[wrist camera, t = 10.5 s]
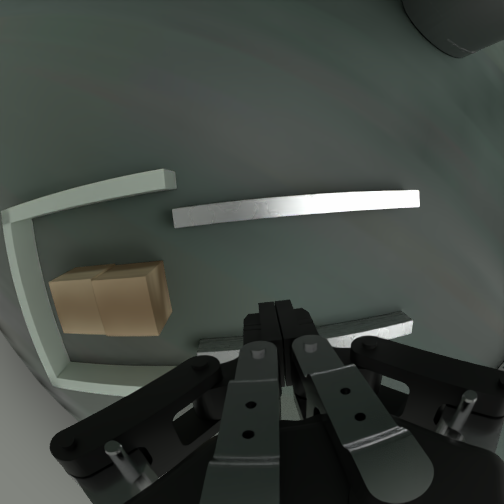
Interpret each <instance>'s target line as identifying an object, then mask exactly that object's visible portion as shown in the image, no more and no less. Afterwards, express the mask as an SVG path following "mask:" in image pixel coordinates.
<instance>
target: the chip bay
mask: <svg viewBox="0 0 504 504" xmlns="http://www.w3.org/2000/svg"><path fill="white" fill-rule="evenodd" d="M172 189H177V184H176V174H175V172H174V171H170V170H167V169H158V170H153V171H147V172H142V173H137V174H132V175H127V176H122V177H118V178H113V179H109V180H104V181H100V182H96V183H92V184H88V185H84V186H80V187H76V188H72V189H69V190H65V191H62V192H58V193H55V194H51V195H48V196H44V197H41V198H38V199H35V200H32V201H29V202H26V203H23V204H20V205H17V206H14V207H11V208H8V209H5V210H3V211H1V216H2V224H3V231H4V238H5V244H6V249H7V255H8V260H9V264H10V269H11V273H12V277H13V281H14V285H15V289H16V293H17V296H18V300H19V303H20V306H21V309H22V312H23V315H24V318H25V321H26V324H27V327H28V330H29V333H30V335H31V338H32V340H33V343H34V346H35V348H36V350H37V353H38V355H39V357H40V360H41V362H42V364H43V366H44V369H45V371H46V373H47V375H48V377H49V379H50V381H51V383H52V385H53V387H58V388H64V389H70V390H76V391H82V392H89V393H97V394H105V395H115V396H128V395H129V394H131V393H133V392H135V391H136V390H138V389H140V388H142V387H143V386H145V385H147V384H148V383H150V382H152V381H153V380H155V379H157V378H159V377H160V376H162V375H164V374H165V373H167V372H168V371H170V370H172V369H173V368H175V367H177V366H130V365H108V364H93V363H81V362H71V361H70V358H69V356H68V353H67V351H66V348H65V346H64V343H63V341H62V338H61V335H60V332H59V329H58V327H57V324H56V321H55V318H54V314H53V311H52V308H51V305H50V301H49V298H48V294H47V291H46V287H45V283H44V279H43V275H42V271H41V266H40V262H39V257H38V252H37V246H36V241H35V235H34V228H33V221H32V219H33V218H36V217H40V216H44V215H48V214H52V213H56V212H60V211H64V210H68V209H72V208H77V207H81V206H86V205H90V204H95V203H100V202H105V201H109V200H115V199H120V198H125V197H130V196H136V195H142V194H147V193H153V192H160V191H166V190H172Z"/></svg>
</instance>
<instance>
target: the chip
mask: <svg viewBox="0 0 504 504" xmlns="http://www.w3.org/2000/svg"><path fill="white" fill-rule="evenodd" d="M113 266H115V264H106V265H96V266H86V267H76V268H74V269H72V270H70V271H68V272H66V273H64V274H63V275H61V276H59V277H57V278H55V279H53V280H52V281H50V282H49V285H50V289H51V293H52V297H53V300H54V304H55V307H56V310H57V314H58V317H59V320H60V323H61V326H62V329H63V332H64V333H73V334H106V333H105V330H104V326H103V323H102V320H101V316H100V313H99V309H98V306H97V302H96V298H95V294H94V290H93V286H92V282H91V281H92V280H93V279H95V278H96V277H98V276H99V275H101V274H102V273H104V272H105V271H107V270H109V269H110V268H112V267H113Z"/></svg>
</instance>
